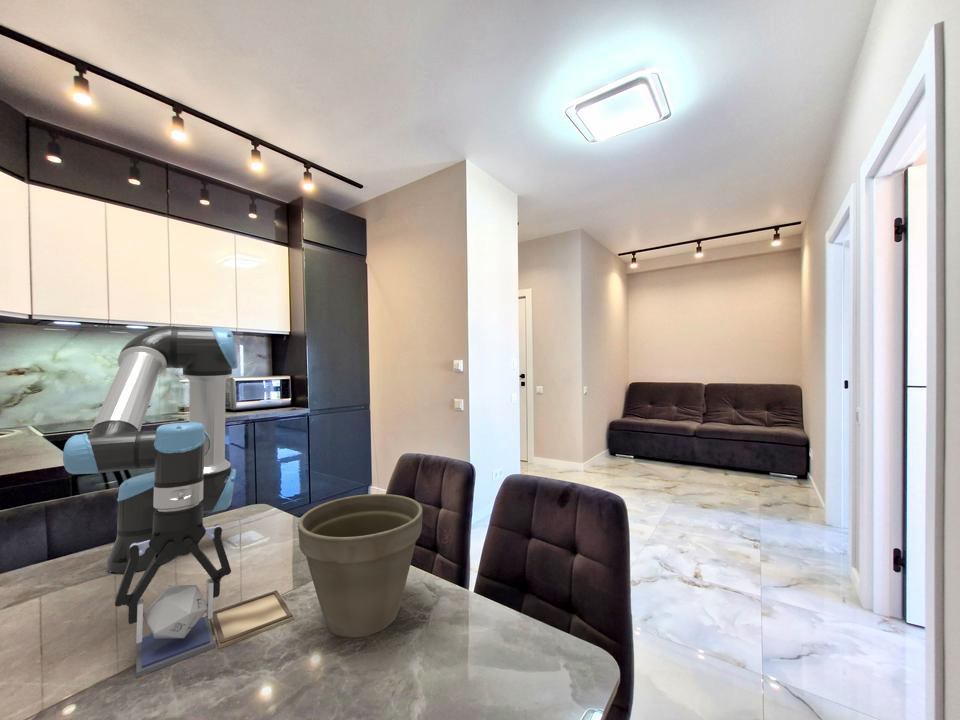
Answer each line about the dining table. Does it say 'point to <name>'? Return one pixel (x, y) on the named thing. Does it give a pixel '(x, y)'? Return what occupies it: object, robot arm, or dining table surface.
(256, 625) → the board
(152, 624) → the die
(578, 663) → the dining table surface
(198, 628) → the ink pad
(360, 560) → the plant pot
